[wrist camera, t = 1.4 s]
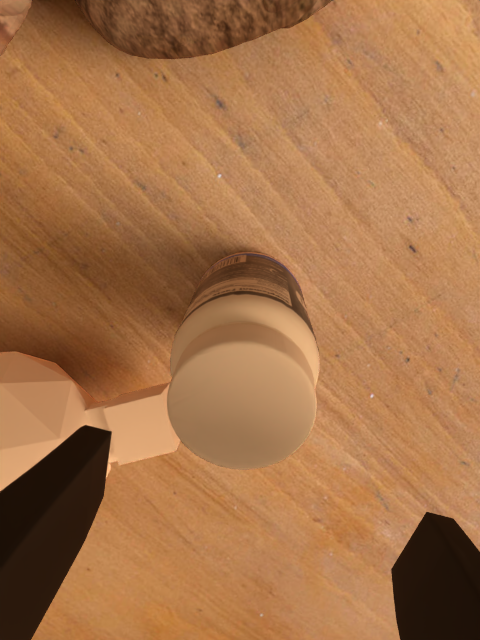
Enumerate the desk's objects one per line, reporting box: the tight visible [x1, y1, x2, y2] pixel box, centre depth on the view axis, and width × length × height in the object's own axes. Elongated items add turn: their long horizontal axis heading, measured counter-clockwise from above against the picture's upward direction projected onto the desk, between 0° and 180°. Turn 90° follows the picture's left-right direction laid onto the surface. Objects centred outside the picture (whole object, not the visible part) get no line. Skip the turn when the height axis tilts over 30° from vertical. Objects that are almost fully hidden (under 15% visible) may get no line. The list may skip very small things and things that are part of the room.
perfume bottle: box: [0, 351, 180, 491], centre depth 17 cm, size 9×9×12 cm
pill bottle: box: [167, 252, 319, 470], centre depth 15 cm, size 5×5×8 cm
